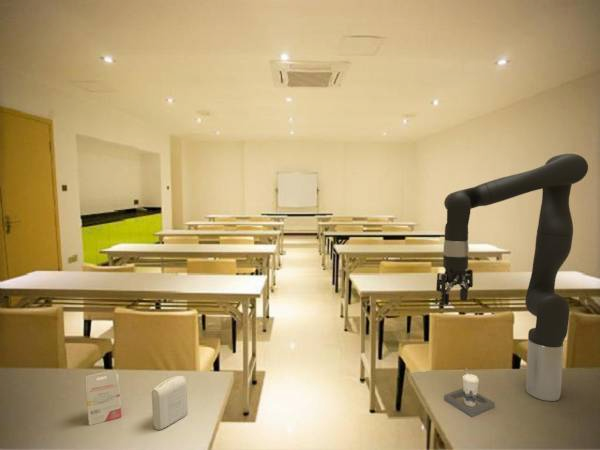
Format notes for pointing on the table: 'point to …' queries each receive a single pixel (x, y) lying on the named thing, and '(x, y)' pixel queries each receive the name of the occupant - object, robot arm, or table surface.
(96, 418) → the ink cartridge box
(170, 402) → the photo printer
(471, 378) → the milkshake
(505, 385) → the table surface
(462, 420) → the table surface
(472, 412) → the grey square frame
